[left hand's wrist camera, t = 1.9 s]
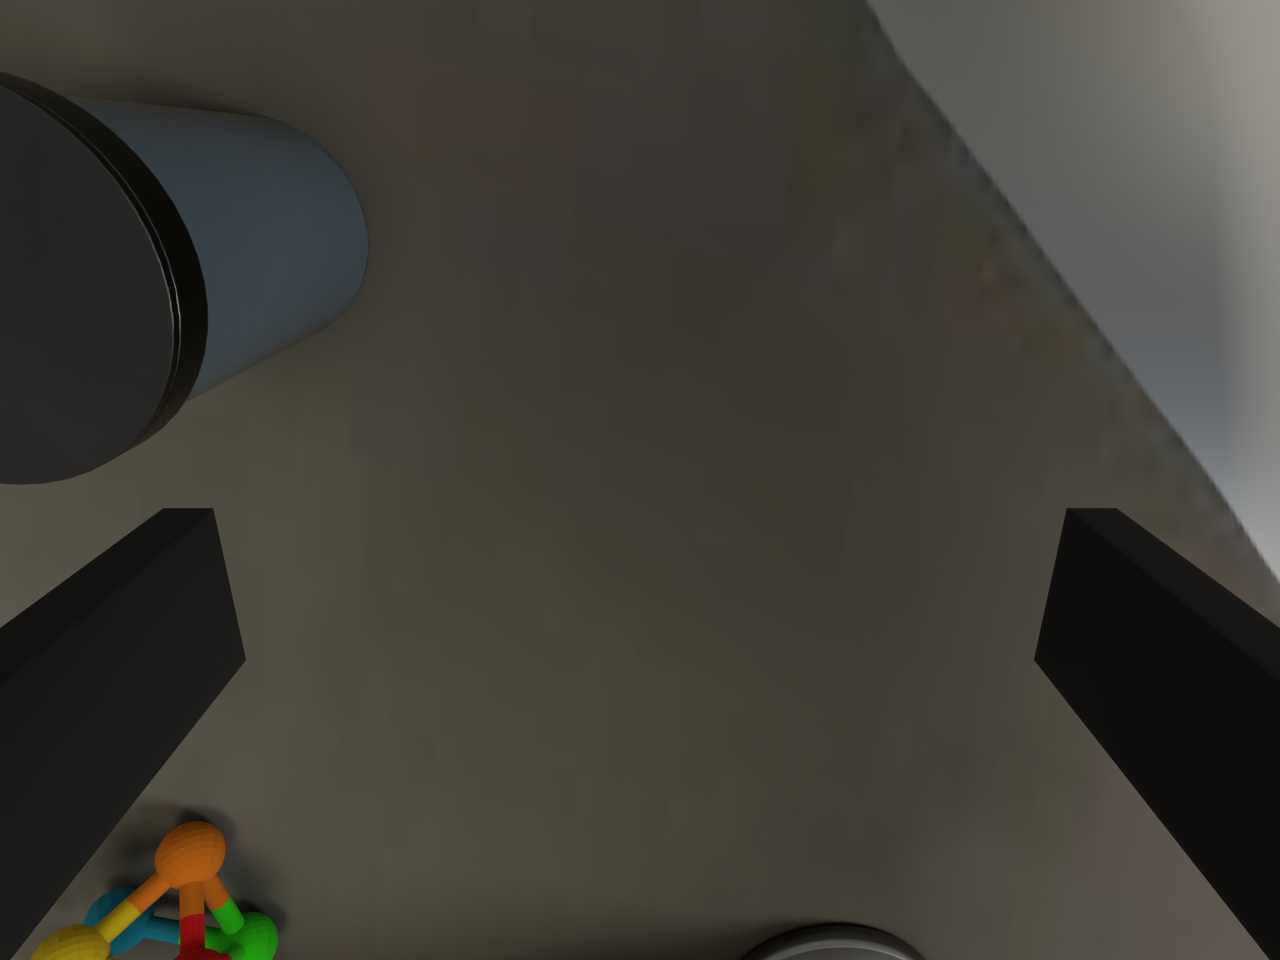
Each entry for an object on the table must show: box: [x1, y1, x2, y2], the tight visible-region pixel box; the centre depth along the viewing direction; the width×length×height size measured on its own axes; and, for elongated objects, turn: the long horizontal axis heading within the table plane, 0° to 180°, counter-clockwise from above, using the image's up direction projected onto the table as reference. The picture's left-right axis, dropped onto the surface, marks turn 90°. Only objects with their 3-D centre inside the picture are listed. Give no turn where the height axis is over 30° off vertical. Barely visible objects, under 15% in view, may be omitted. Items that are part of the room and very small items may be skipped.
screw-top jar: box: [57, 93, 368, 403], centre depth 29 cm, size 10×10×17 cm
